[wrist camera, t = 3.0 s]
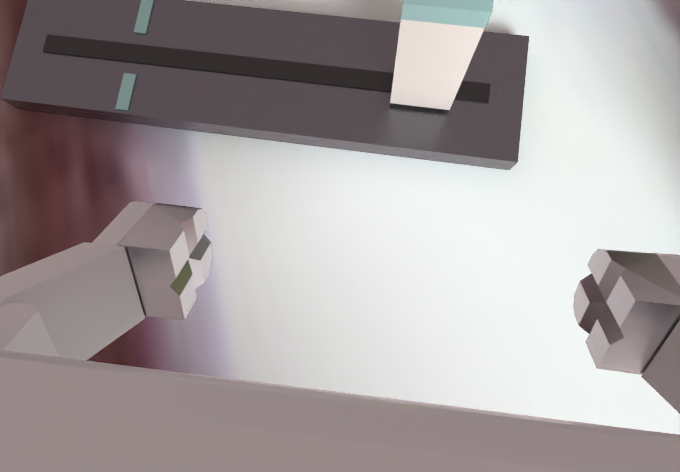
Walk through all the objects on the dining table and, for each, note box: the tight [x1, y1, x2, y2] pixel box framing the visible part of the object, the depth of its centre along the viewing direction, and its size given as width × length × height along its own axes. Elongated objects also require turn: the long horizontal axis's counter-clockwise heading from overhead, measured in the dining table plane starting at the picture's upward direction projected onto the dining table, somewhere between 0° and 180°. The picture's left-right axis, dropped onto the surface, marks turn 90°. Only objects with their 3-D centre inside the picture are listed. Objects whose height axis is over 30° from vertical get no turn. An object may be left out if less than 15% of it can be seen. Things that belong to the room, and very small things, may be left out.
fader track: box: [0, 0, 529, 170], centre depth 29 cm, size 8×32×2 cm, turn 82°
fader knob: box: [390, 0, 493, 110], centre depth 23 cm, size 3×4×9 cm
